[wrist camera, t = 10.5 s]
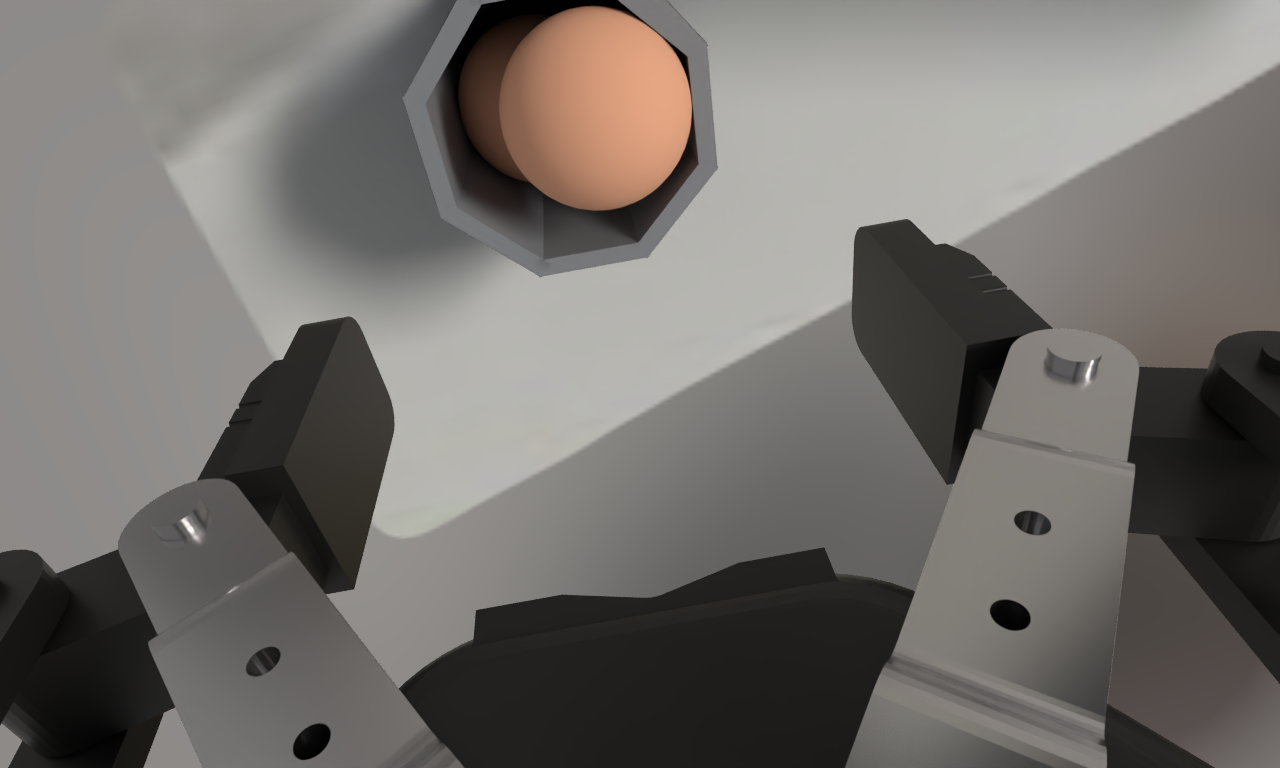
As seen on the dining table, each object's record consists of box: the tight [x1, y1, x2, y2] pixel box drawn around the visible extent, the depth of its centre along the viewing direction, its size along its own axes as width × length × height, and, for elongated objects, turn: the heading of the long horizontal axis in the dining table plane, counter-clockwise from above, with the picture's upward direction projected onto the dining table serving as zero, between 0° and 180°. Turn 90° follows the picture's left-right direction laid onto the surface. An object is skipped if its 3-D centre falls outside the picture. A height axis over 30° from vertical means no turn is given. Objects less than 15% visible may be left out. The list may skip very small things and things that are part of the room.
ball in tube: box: [458, 14, 551, 183], centre depth 28 cm, size 6×6×6 cm
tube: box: [402, 0, 718, 277], centre depth 27 cm, size 9×9×9 cm
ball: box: [499, 6, 692, 211], centre depth 23 cm, size 6×6×6 cm
